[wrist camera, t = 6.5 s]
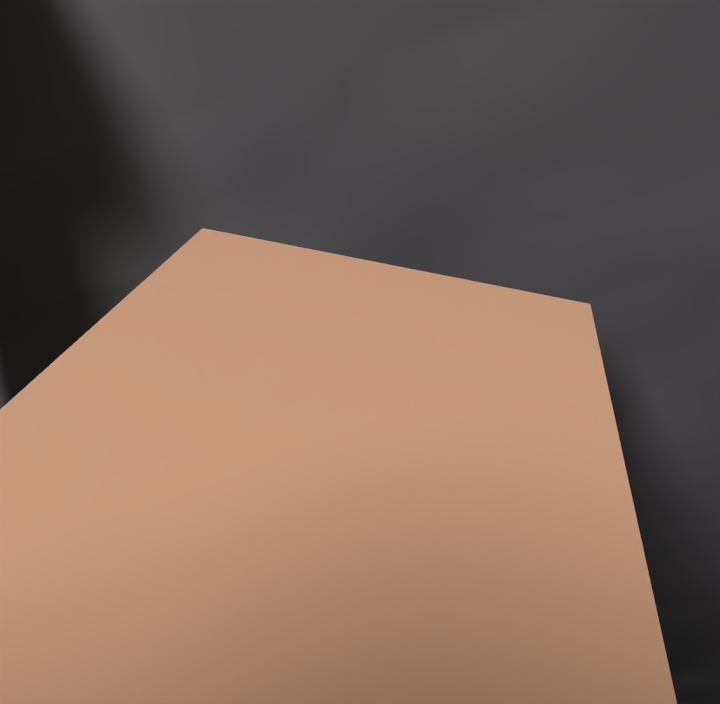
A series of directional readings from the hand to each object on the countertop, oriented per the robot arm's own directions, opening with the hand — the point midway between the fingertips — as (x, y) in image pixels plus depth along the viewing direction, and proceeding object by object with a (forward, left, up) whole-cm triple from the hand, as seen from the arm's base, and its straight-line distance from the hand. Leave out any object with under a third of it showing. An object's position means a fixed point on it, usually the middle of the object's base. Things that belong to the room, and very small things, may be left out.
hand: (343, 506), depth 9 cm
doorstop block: (0, 0, -1) cm, 1 cm away
